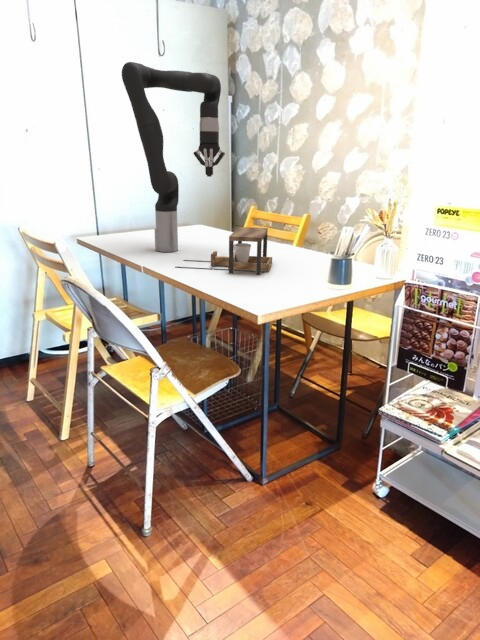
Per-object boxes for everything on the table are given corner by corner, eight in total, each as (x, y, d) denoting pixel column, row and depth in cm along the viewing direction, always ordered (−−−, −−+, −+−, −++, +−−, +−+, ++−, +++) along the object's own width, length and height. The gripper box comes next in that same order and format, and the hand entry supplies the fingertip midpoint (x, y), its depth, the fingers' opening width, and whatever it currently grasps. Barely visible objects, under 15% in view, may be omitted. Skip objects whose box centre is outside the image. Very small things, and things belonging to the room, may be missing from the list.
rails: (175, 267, 189) (174, 267, 189) (183, 260, 201) (183, 259, 201) (264, 272, 184) (264, 271, 184) (267, 264, 196) (267, 264, 196)
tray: (208, 268, 187) (208, 256, 185) (215, 260, 199) (215, 249, 197) (268, 271, 184) (269, 259, 182) (272, 263, 196) (272, 252, 194)
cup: (254, 264, 195) (254, 244, 193) (241, 269, 187) (242, 248, 184) (238, 262, 199) (238, 242, 196) (225, 267, 190) (225, 246, 188)
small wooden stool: (228, 273, 182) (229, 236, 177) (238, 260, 202) (238, 226, 198) (260, 275, 180) (261, 237, 176) (266, 261, 201) (267, 228, 196)
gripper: (190, 130, 192) (191, 176, 198) (224, 130, 191) (223, 177, 196) (194, 130, 199) (195, 175, 205) (227, 131, 198) (227, 176, 203)
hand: (209, 176), depth 201 cm, fingers closed
